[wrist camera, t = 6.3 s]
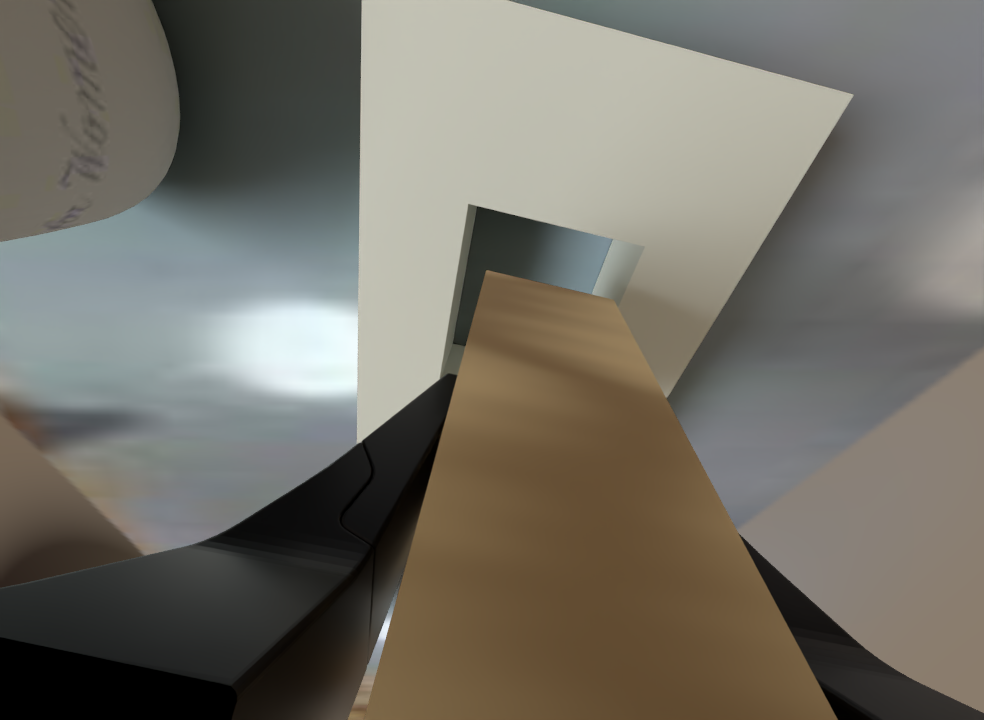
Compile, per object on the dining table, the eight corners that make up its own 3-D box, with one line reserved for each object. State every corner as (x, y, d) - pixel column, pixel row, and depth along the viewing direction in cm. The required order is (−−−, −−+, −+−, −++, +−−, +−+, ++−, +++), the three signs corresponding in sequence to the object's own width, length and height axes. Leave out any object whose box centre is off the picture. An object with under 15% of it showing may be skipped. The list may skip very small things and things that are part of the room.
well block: (381, 399, 20) (356, 447, 17) (405, 5, 11) (362, -39, 8) (593, 444, 20) (605, 498, 17) (770, 103, 12) (853, 94, 9)
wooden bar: (456, 410, 12) (346, 870, 5) (486, 269, 10) (338, 811, 2) (556, 432, 12) (609, 909, 5) (613, 299, 10) (938, 905, 2)
